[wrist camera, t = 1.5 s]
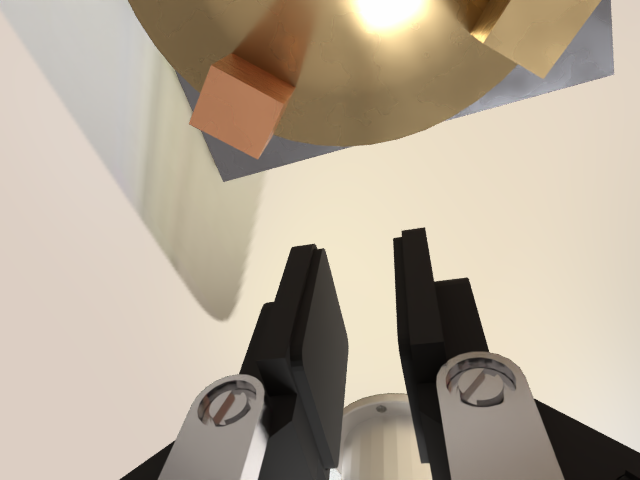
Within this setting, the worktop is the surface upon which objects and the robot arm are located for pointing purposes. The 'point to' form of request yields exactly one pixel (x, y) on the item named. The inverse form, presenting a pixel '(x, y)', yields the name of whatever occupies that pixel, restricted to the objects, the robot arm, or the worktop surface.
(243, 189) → the worktop surface
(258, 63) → the brass lugged disc
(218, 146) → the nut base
